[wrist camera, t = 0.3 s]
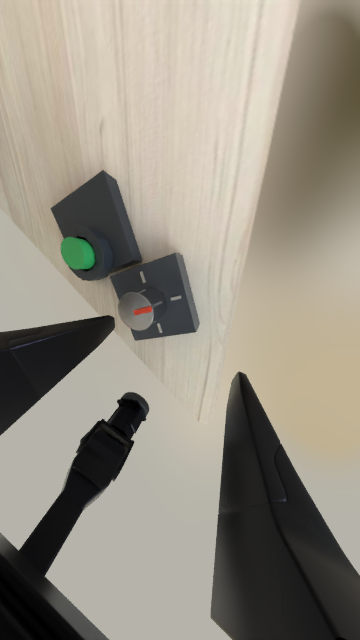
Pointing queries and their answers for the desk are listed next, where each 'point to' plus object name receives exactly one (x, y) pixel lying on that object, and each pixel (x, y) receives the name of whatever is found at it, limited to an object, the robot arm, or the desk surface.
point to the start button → (78, 253)
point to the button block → (99, 225)
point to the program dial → (142, 308)
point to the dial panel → (174, 287)
